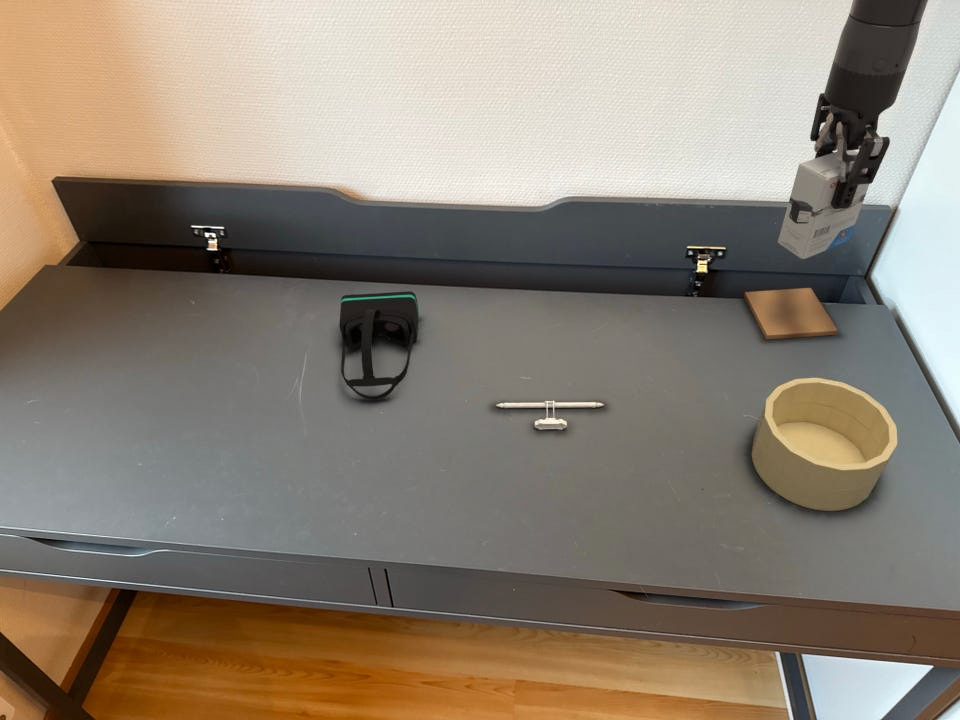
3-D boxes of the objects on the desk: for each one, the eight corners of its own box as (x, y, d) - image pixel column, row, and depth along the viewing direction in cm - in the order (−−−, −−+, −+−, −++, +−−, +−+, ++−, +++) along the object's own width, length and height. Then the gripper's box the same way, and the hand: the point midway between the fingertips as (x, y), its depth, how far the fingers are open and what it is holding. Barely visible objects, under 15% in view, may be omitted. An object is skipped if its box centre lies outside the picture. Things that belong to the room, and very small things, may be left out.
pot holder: (809, 291, 107) (810, 287, 106) (836, 334, 100) (838, 330, 99) (743, 296, 107) (744, 292, 106) (765, 339, 100) (767, 335, 99)
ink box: (822, 224, 97) (848, 145, 89) (851, 242, 94) (880, 161, 86) (774, 242, 95) (797, 162, 87) (802, 260, 92) (827, 179, 84)
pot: (844, 416, 88) (863, 374, 83) (895, 507, 79) (921, 465, 73) (736, 424, 89) (749, 381, 83) (774, 514, 79) (790, 473, 74)
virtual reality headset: (419, 317, 107) (411, 268, 99) (417, 407, 96) (408, 360, 88) (347, 321, 107) (333, 273, 99) (336, 411, 96) (320, 365, 88)
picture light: (603, 404, 92) (604, 393, 91) (606, 429, 89) (607, 418, 88) (496, 405, 93) (495, 394, 92) (495, 430, 90) (495, 419, 88)
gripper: (938, 81, 73) (884, 221, 84) (875, 34, 83) (834, 164, 95) (866, 87, 73) (821, 225, 84) (812, 38, 83) (779, 168, 95)
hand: (828, 192), depth 89 cm, fingers closed on ink box, 6 cm apart
